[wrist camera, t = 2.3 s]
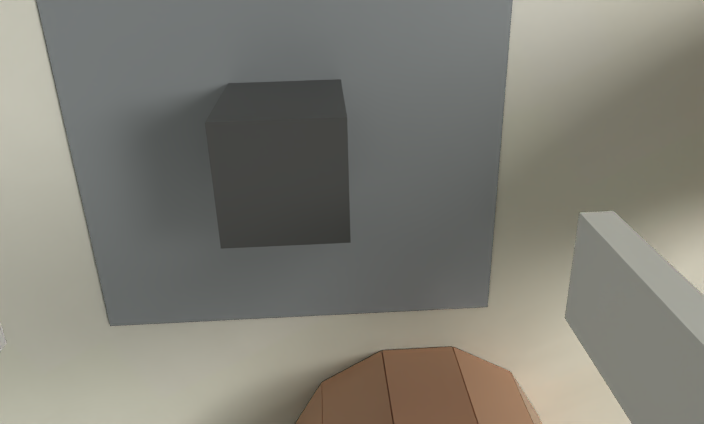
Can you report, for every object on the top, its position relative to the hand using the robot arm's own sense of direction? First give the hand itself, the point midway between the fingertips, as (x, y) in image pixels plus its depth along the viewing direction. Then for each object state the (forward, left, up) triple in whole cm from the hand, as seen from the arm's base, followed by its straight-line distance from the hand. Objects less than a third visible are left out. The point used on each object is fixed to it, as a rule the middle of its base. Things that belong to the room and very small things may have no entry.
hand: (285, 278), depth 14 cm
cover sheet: (0, 0, -11) cm, 11 cm away
